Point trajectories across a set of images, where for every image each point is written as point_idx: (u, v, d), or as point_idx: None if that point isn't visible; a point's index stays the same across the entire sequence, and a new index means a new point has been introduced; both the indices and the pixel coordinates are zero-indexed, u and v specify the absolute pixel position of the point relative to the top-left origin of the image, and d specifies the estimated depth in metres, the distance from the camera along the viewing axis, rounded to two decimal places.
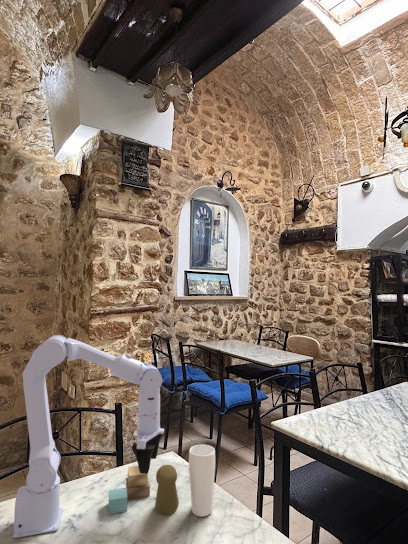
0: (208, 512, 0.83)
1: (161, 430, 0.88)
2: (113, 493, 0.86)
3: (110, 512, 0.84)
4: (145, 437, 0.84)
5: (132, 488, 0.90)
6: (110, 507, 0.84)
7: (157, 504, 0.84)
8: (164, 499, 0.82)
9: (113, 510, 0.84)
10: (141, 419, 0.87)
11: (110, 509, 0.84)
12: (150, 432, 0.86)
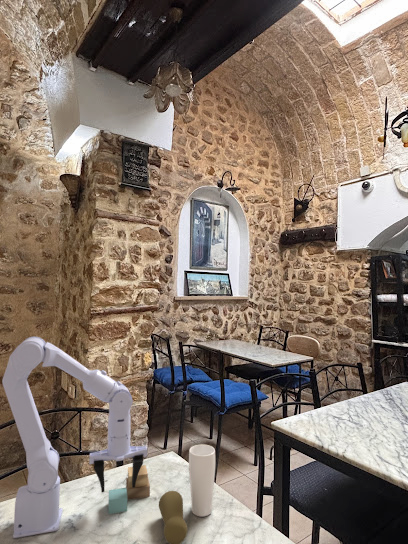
0: (208, 512, 0.83)
1: (117, 457, 0.84)
2: (113, 493, 0.86)
3: (110, 512, 0.84)
4: (100, 455, 0.85)
5: (132, 488, 0.90)
6: (110, 507, 0.84)
7: None
8: None
9: (113, 510, 0.84)
10: None
11: (110, 509, 0.84)
12: (108, 453, 0.85)
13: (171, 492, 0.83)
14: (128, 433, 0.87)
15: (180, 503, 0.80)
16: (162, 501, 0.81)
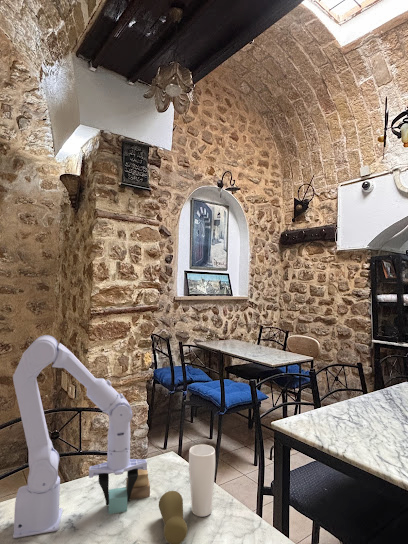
0: (208, 512, 0.83)
1: (117, 471, 0.83)
2: (113, 492, 0.86)
3: (110, 511, 0.84)
4: (99, 468, 0.85)
5: None
6: (110, 506, 0.84)
7: None
8: None
9: (113, 509, 0.84)
10: None
11: (110, 508, 0.84)
12: (108, 466, 0.85)
13: (171, 492, 0.83)
14: (128, 446, 0.86)
15: (180, 503, 0.80)
16: (162, 501, 0.81)
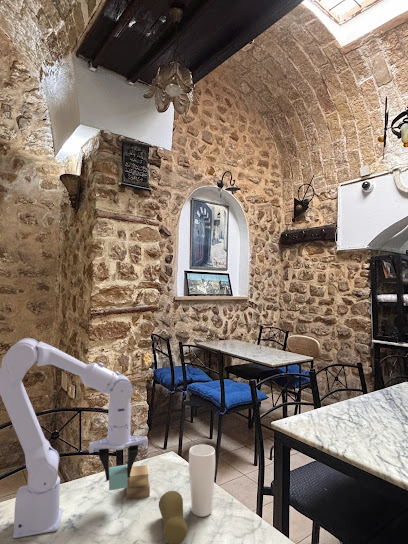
0: (208, 512, 0.83)
1: (117, 446, 0.84)
2: (113, 470, 0.87)
3: (110, 488, 0.84)
4: (100, 444, 0.86)
5: (132, 488, 0.90)
6: (110, 483, 0.84)
7: None
8: None
9: (113, 486, 0.84)
10: None
11: (110, 485, 0.84)
12: (108, 442, 0.86)
13: (171, 492, 0.83)
14: (128, 423, 0.87)
15: (180, 503, 0.80)
16: (162, 501, 0.81)
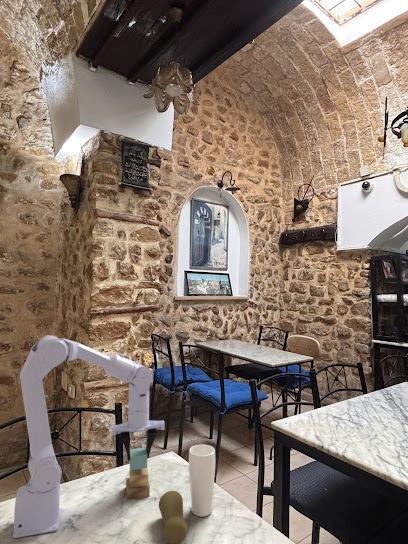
0: (208, 512, 0.83)
1: (138, 429, 0.91)
2: (134, 452, 0.94)
3: (131, 468, 0.91)
4: (121, 427, 0.93)
5: (132, 488, 0.90)
6: (131, 463, 0.91)
7: None
8: None
9: (134, 466, 0.91)
10: None
11: (131, 465, 0.91)
12: (129, 425, 0.92)
13: (171, 492, 0.83)
14: (148, 407, 0.94)
15: (180, 503, 0.80)
16: (162, 501, 0.81)
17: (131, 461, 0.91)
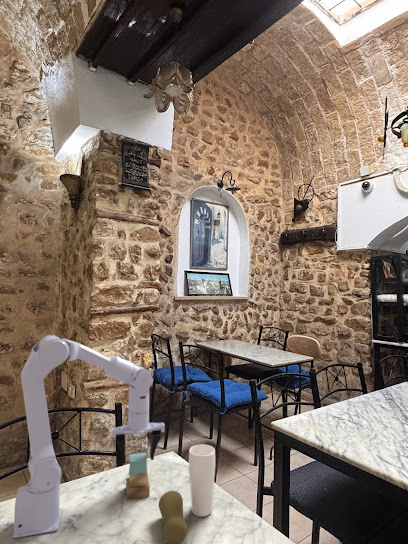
0: (208, 512, 0.83)
1: (138, 431, 0.91)
2: (134, 457, 0.94)
3: (131, 473, 0.91)
4: (121, 429, 0.93)
5: (132, 488, 0.90)
6: (131, 468, 0.91)
7: None
8: None
9: (134, 471, 0.91)
10: None
11: (131, 470, 0.91)
12: (129, 428, 0.92)
13: (171, 492, 0.83)
14: (148, 409, 0.94)
15: (180, 503, 0.80)
16: (162, 501, 0.81)
17: (131, 466, 0.91)
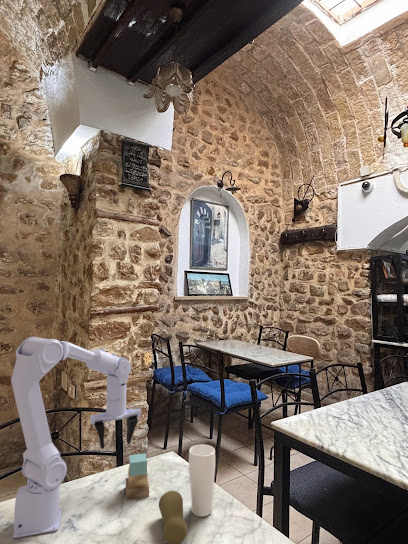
0: (208, 512, 0.83)
1: (117, 417, 0.96)
2: (134, 457, 0.94)
3: (131, 474, 0.91)
4: (100, 416, 0.97)
5: (131, 489, 0.90)
6: (131, 469, 0.91)
7: None
8: None
9: (134, 472, 0.91)
10: None
11: (131, 471, 0.91)
12: (107, 414, 0.97)
13: (171, 492, 0.83)
14: None
15: (180, 503, 0.80)
16: (162, 501, 0.81)
17: (131, 467, 0.91)
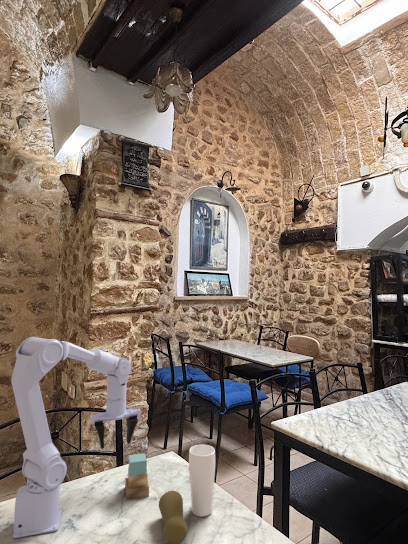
0: (208, 512, 0.83)
1: (117, 417, 0.96)
2: (133, 457, 0.94)
3: (131, 474, 0.91)
4: (100, 416, 0.97)
5: (131, 489, 0.90)
6: (131, 469, 0.91)
7: None
8: None
9: (133, 472, 0.91)
10: None
11: (131, 471, 0.91)
12: (107, 414, 0.97)
13: (171, 492, 0.83)
14: None
15: (180, 503, 0.80)
16: (162, 501, 0.81)
17: (131, 467, 0.91)
